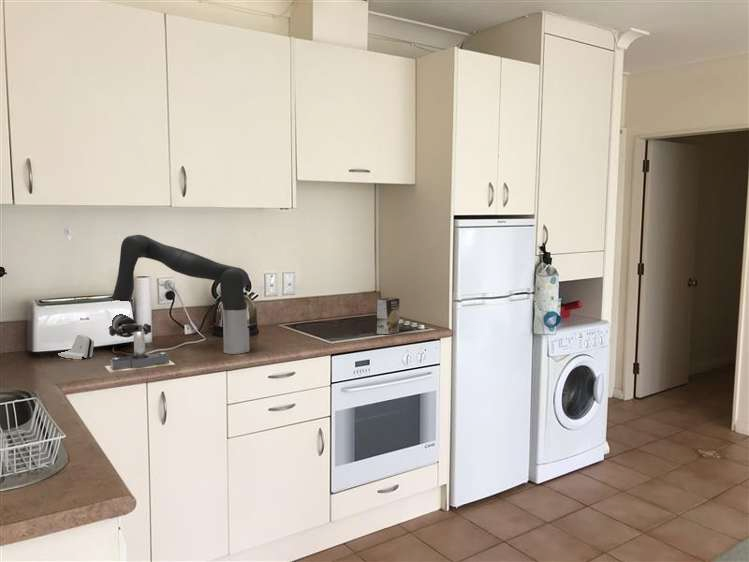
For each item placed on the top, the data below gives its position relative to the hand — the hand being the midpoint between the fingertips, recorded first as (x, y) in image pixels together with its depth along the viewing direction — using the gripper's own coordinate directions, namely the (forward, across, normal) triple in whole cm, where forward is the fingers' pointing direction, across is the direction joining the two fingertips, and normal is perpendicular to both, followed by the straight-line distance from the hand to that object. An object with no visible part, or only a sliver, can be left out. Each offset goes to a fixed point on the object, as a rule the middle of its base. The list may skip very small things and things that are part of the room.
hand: (134, 332), depth 233 cm
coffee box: (-1, +112, +11) cm, 113 cm away
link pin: (+7, 0, +10) cm, 13 cm away
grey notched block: (+7, 0, +10) cm, 13 cm away
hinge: (-24, -17, +12) cm, 32 cm away
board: (+7, 0, +11) cm, 13 cm away
